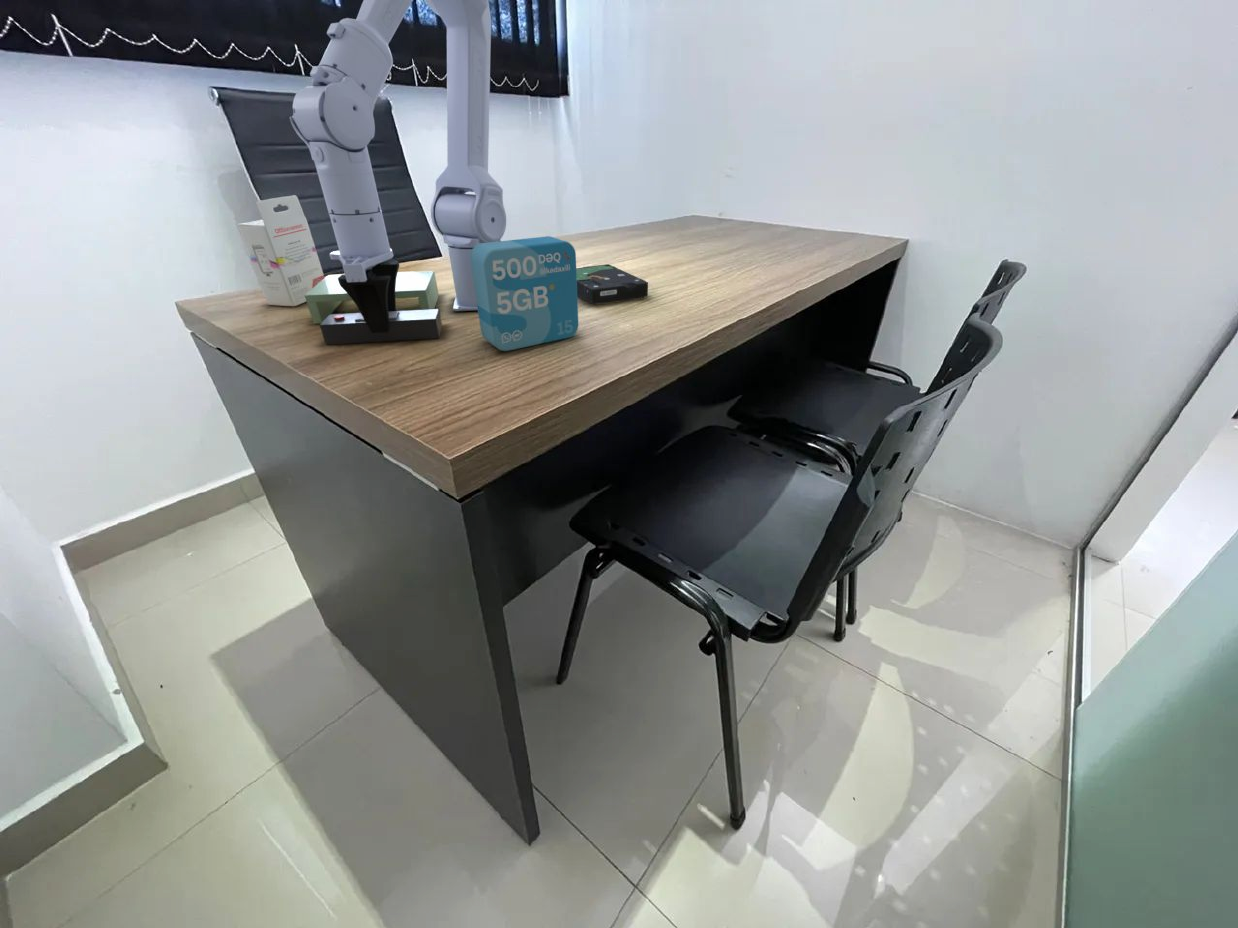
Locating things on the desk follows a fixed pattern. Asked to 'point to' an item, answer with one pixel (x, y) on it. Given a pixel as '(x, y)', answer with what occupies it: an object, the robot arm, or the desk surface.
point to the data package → (525, 291)
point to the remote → (400, 328)
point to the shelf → (332, 294)
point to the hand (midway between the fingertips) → (384, 325)
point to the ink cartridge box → (282, 252)
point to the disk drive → (608, 284)
